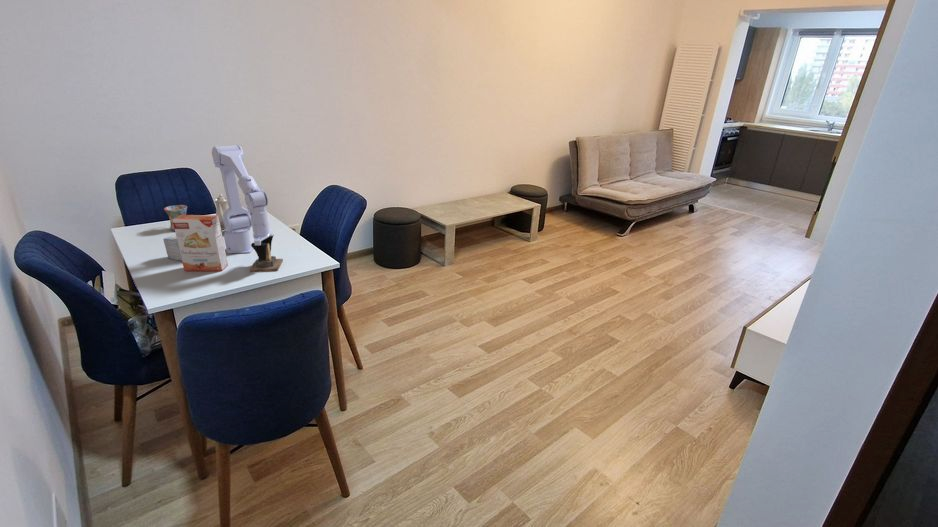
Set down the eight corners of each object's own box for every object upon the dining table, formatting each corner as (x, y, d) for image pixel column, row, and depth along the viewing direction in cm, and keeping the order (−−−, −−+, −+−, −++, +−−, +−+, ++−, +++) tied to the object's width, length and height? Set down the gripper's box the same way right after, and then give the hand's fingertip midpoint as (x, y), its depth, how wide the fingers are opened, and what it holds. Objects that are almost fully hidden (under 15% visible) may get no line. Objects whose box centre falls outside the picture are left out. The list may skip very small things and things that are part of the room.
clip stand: (250, 271, 171) (248, 264, 170) (256, 261, 180) (255, 254, 179) (277, 270, 173) (276, 263, 172) (283, 260, 182) (282, 254, 181)
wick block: (262, 265, 175) (259, 246, 172) (264, 262, 177) (260, 243, 174) (270, 265, 175) (267, 246, 172) (272, 262, 178) (269, 243, 175)
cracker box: (183, 271, 170) (170, 218, 162) (191, 265, 175) (179, 214, 167) (222, 271, 171) (211, 219, 163) (228, 265, 176) (218, 214, 168)
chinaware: (245, 238, 210) (243, 203, 204) (205, 236, 205) (202, 201, 199) (255, 220, 235) (254, 189, 229) (220, 218, 230) (217, 186, 224)
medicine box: (192, 257, 183) (187, 237, 179) (182, 261, 179) (177, 241, 175) (177, 254, 185) (172, 235, 181) (167, 258, 181) (162, 238, 178)
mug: (194, 229, 214) (189, 208, 210) (172, 233, 208) (166, 211, 203) (187, 223, 221) (182, 202, 217) (165, 227, 215) (160, 205, 211)
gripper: (266, 228, 164) (271, 263, 169) (275, 217, 177) (280, 249, 182) (246, 229, 163) (252, 263, 168) (256, 217, 176) (261, 249, 181)
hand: (265, 256), depth 175 cm, fingers open, 7 cm apart
